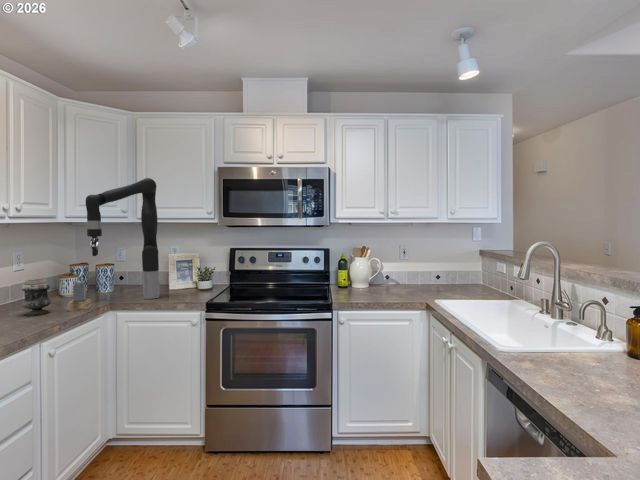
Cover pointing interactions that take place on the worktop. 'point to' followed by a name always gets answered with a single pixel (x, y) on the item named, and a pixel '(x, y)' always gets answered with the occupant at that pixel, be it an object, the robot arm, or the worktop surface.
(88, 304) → the tan flat rounded piece
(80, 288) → the housing
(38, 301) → the apothecary jar
